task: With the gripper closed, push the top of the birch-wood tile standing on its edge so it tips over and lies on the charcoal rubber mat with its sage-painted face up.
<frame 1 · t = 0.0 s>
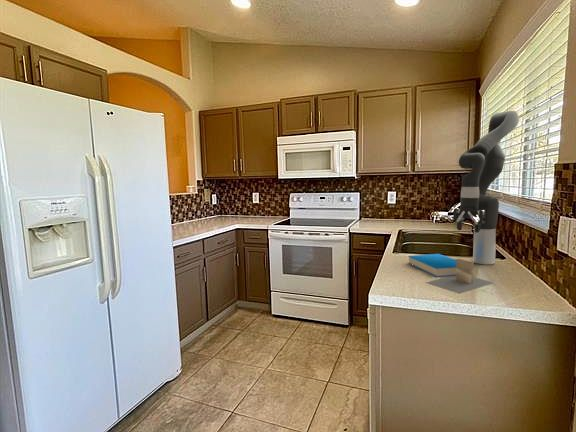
hand: (467, 231, 154), 17 cm above the worktop, tool pointing down, fingers open, 8 cm apart
book: (438, 268, 154), on the worktop, touching mat
mat: (459, 284, 133), on the worktop
tile: (464, 281, 134), point 1 cm above the worktop, touching mat
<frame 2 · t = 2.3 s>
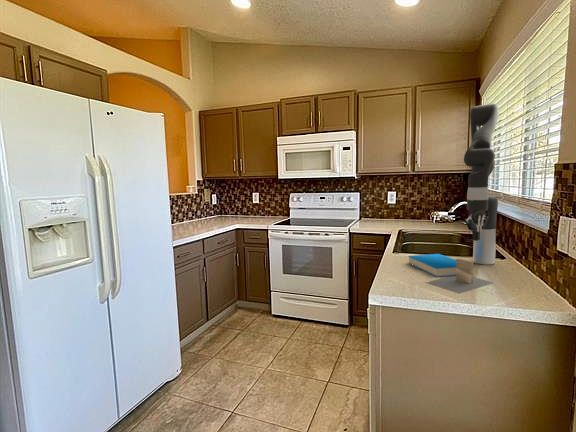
hand: (476, 240, 135), 17 cm above the worktop, tool pointing down, fingers closed
nothing on the worktop moved.
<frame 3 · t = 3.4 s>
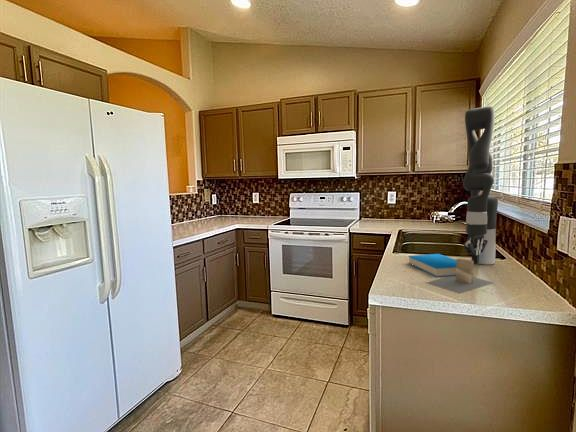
hand: (475, 263, 136), 7 cm above the worktop, tool pointing down, fingers closed
nothing on the worktop moved.
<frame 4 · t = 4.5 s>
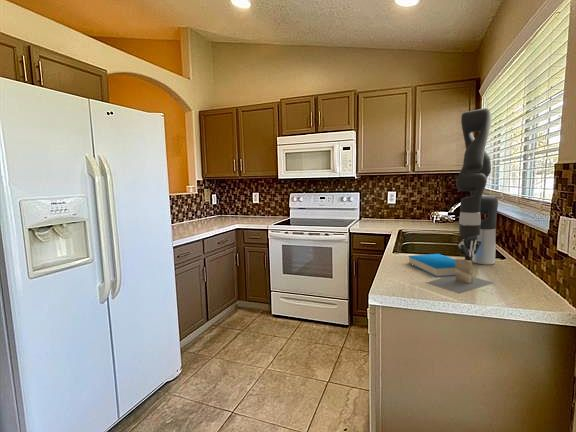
hand: (468, 264, 134), 7 cm above the worktop, tool pointing down, fingers closed
tile: (464, 281, 134), point 1 cm above the worktop, tilted 7°, touching mat
everything else where it was.
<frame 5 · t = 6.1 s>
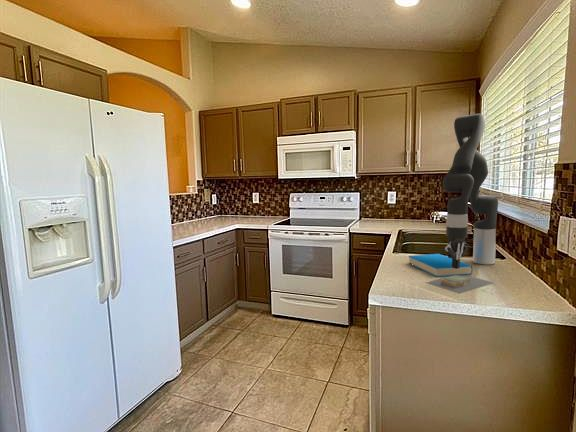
hand: (455, 268, 131), 7 cm above the worktop, tool pointing down, fingers closed
tile: (462, 279, 133), point 2 cm above the worktop, tilted 90°, touching mat
everything else where it was.
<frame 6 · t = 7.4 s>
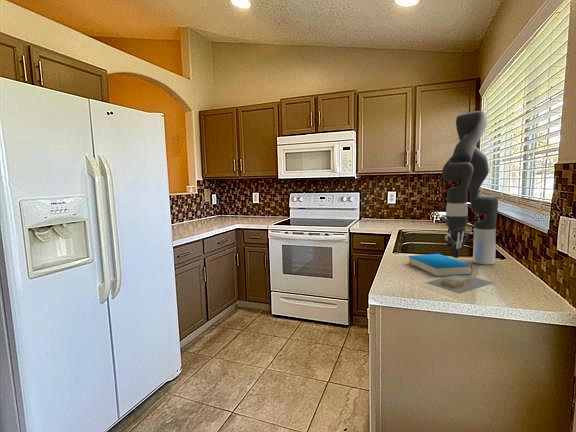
hand: (455, 257, 130), 12 cm above the worktop, tool pointing down, fingers closed
nothing on the worktop moved.
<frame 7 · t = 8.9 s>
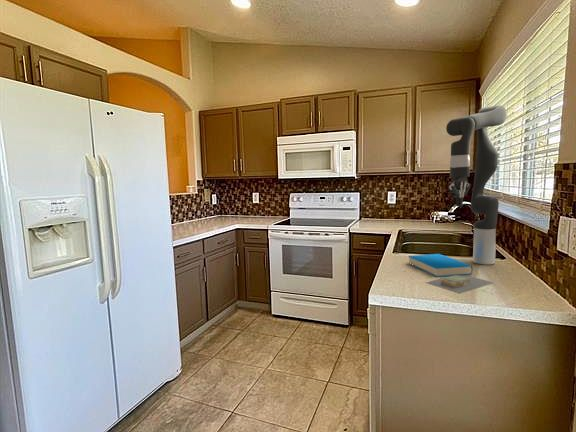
hand: (459, 206, 142), 30 cm above the worktop, tool pointing down, fingers closed
nothing on the worktop moved.
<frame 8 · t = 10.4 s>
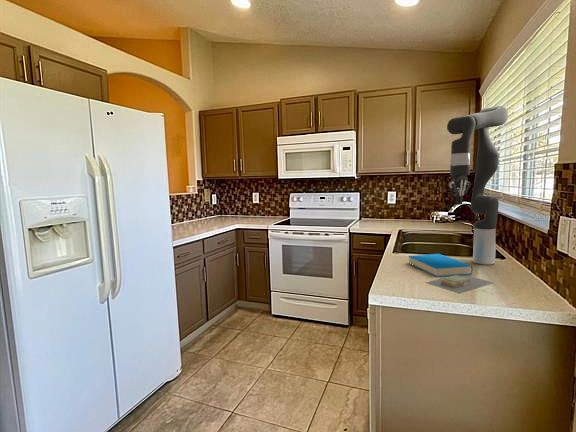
hand: (458, 204, 143), 31 cm above the worktop, tool pointing down, fingers closed
nothing on the worktop moved.
at the end: tile tilted 90°; tile inside the target area on the mat (1.9 cm from its centre), point 1.6 cm above the mat's base; the gripper is holding nothing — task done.
